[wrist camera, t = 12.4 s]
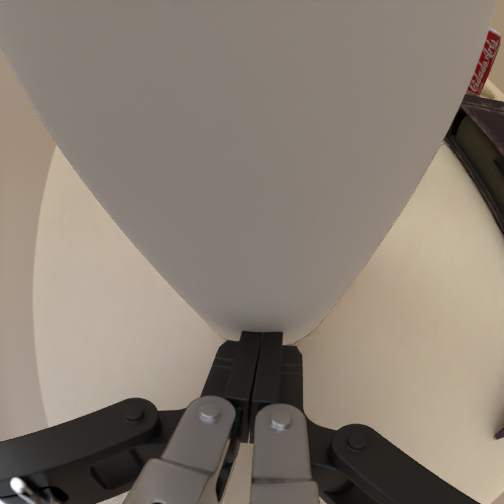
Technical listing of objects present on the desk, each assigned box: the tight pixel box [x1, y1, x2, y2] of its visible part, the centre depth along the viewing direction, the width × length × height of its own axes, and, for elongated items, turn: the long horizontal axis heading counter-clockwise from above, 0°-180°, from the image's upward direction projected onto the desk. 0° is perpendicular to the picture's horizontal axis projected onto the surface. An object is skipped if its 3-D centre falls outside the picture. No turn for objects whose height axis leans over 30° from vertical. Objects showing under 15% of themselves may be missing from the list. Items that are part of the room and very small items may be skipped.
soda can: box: [466, 28, 501, 95], centre depth 21 cm, size 6×6×12 cm
